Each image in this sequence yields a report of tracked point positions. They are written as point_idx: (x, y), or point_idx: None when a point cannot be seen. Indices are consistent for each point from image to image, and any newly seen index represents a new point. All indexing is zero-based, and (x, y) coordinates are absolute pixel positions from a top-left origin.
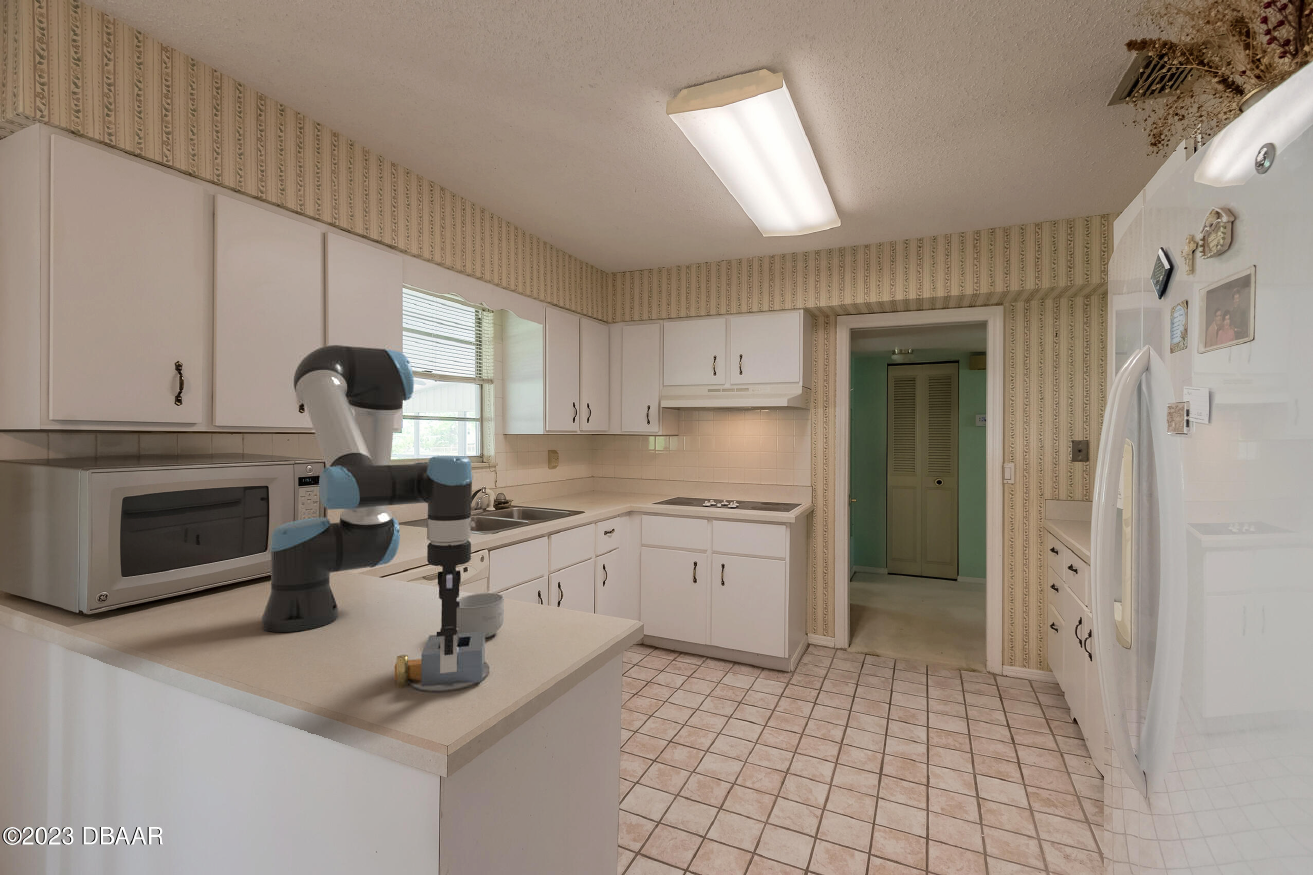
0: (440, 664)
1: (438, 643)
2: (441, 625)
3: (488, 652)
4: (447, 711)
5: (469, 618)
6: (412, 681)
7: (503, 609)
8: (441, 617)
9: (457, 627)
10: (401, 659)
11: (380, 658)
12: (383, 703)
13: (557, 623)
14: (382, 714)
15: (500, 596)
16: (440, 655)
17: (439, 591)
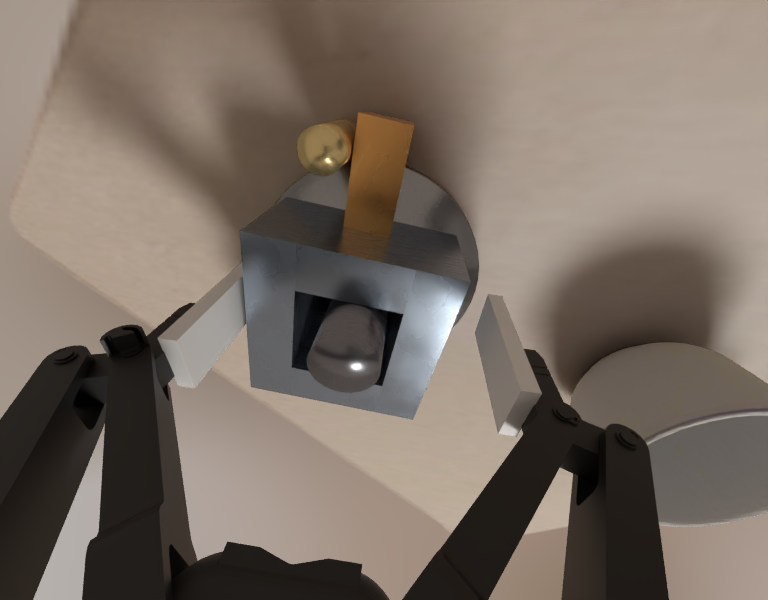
0: (227, 275)
1: (351, 298)
2: (27, 384)
3: (477, 368)
4: (155, 242)
5: (620, 407)
6: (333, 173)
7: None
8: (1, 418)
9: (342, 388)
10: (298, 146)
11: (683, 47)
12: (214, 67)
13: (561, 489)
14: (135, 65)
15: (680, 518)
16: (211, 290)
17: (89, 583)
